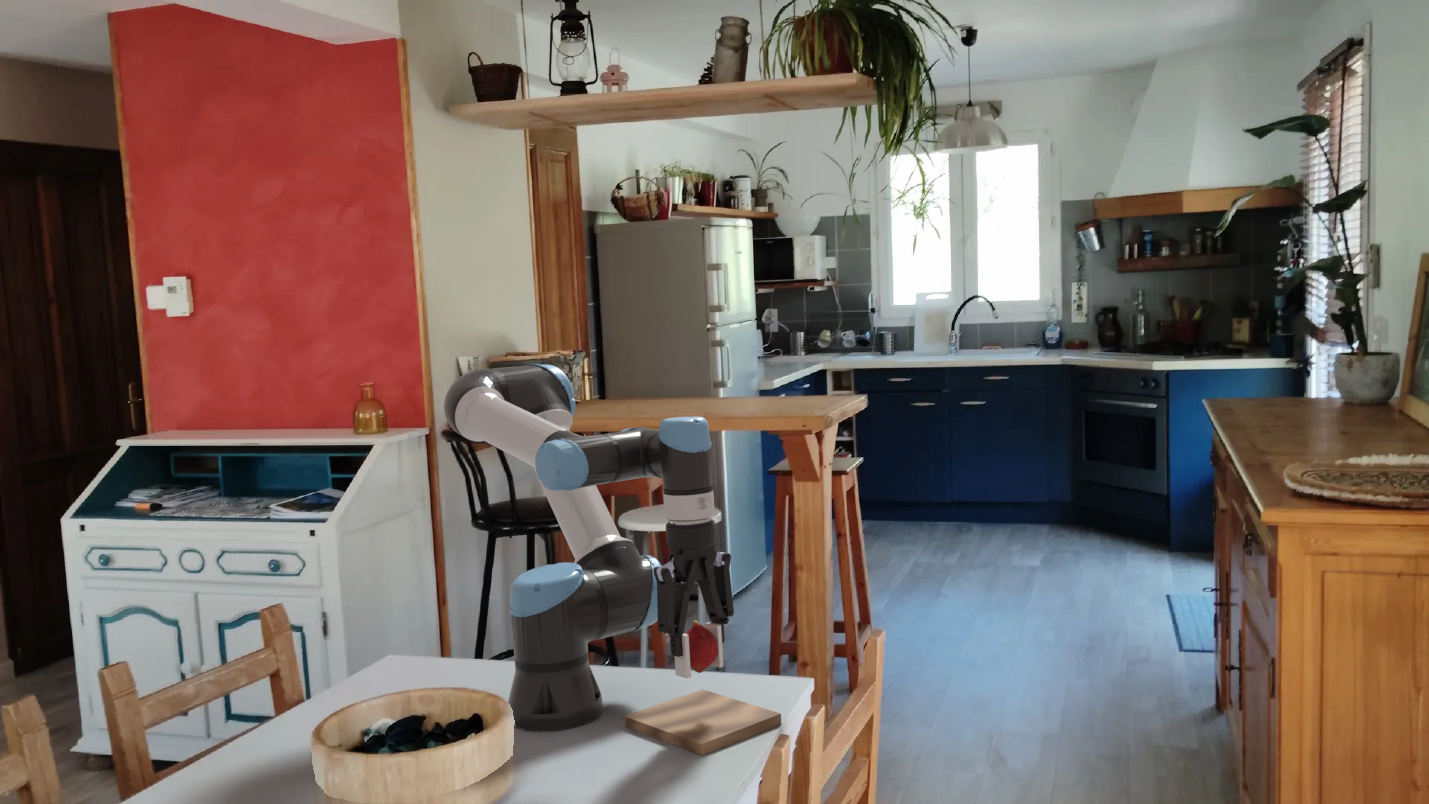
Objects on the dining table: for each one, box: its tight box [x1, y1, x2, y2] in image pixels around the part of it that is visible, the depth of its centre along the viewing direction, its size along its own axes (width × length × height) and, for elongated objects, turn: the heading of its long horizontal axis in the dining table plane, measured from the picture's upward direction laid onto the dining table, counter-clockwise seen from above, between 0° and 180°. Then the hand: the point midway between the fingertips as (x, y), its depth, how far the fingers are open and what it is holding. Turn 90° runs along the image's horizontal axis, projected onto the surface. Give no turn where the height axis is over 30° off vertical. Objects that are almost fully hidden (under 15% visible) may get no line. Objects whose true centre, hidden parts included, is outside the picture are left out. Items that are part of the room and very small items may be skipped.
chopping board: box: [623, 689, 782, 756], centre depth 177 cm, size 18×16×2 cm
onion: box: [684, 620, 718, 674], centre depth 176 cm, size 6×6×8 cm
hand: (699, 670), depth 176 cm, fingers closed on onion, 6 cm apart
